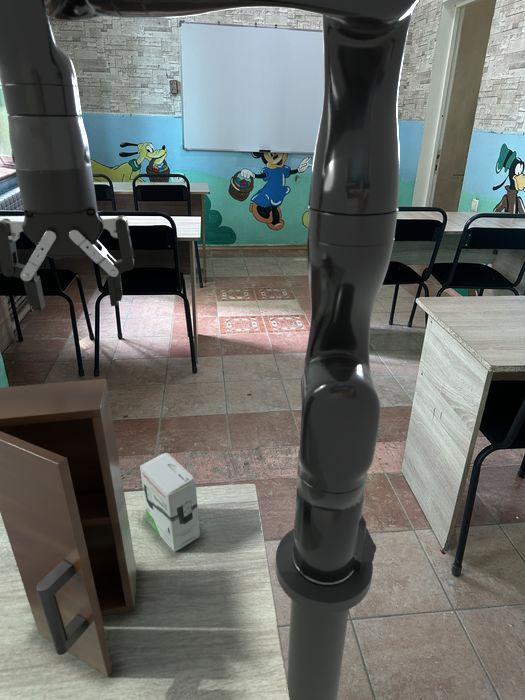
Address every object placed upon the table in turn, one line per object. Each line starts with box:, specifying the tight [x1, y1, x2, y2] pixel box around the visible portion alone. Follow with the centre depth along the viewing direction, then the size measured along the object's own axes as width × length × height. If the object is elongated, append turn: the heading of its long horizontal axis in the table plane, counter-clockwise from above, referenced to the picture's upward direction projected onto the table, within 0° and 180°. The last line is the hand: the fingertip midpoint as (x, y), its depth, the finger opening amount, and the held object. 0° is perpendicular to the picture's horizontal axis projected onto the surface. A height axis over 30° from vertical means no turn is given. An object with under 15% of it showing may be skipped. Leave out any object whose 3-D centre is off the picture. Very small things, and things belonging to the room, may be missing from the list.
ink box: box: [139, 452, 201, 553], centre depth 74 cm, size 9×5×12 cm, turn 42°
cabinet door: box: [0, 431, 114, 678], centre depth 50 cm, size 5×12×32 cm, turn 63°
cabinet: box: [0, 378, 137, 616], centre depth 59 cm, size 6×12×32 cm, turn 101°
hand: (77, 306), depth 58 cm, fingers open, 8 cm apart
